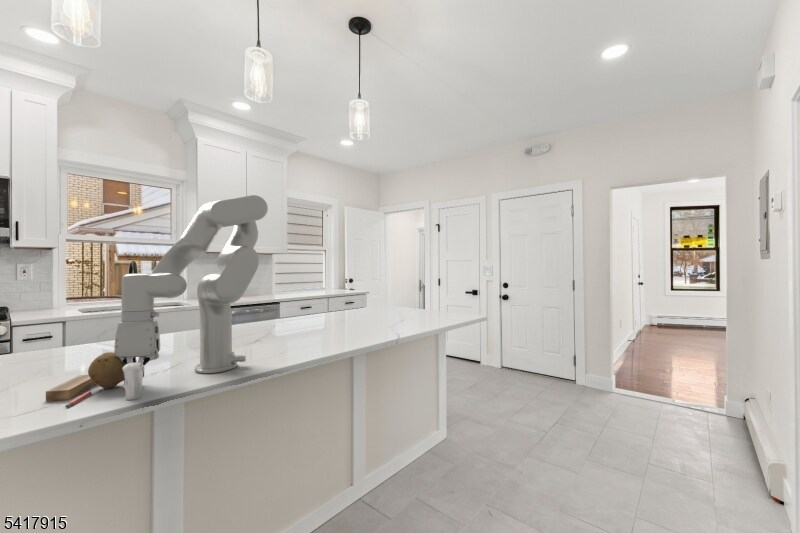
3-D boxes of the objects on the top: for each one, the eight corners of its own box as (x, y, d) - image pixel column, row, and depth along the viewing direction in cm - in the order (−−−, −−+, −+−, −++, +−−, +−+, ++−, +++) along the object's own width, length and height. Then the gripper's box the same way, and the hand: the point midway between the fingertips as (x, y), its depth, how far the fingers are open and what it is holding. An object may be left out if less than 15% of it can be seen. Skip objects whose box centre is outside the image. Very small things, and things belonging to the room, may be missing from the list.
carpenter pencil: (91, 394, 97) (91, 391, 97) (68, 407, 88) (68, 404, 88) (87, 394, 97) (87, 391, 97) (64, 408, 88) (64, 404, 88)
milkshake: (135, 402, 92) (135, 362, 91) (117, 400, 93) (117, 361, 93) (151, 395, 96) (150, 358, 96) (134, 394, 97) (134, 357, 97)
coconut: (84, 388, 102) (84, 352, 102) (123, 380, 109) (123, 347, 109) (91, 395, 96) (91, 358, 96) (132, 386, 103) (132, 351, 103)
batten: (99, 382, 107) (99, 373, 107) (69, 399, 93) (69, 389, 93) (79, 383, 106) (79, 375, 106) (45, 401, 92) (45, 391, 92)
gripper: (171, 314, 109) (171, 375, 109) (114, 315, 105) (113, 378, 105) (162, 317, 102) (161, 382, 102) (100, 319, 98) (99, 386, 98)
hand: (137, 380), depth 104 cm, fingers closed
